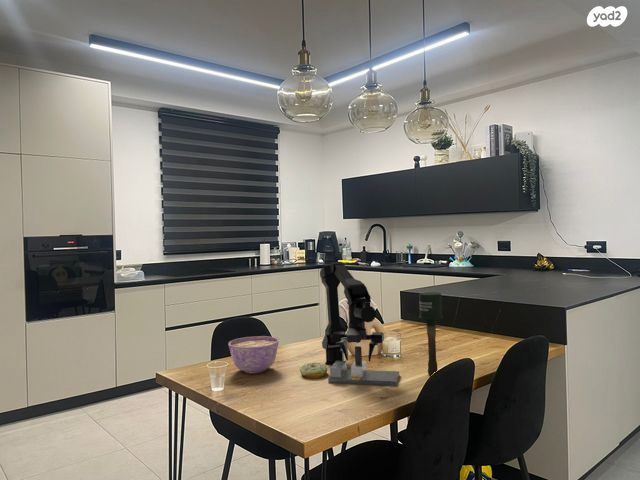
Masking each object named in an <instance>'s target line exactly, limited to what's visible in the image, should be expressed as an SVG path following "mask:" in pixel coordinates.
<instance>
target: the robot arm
mask: <svg viewBox="0 0 640 480" xmlns="http://www.w3.org/2000/svg"><path fill="white" fill-rule="evenodd" d="M319 278H320V280H321V284H322V285H323V286H324V287H325V291H326V292H325V293H326V305H327V317H328V318H327V319H328V323H327V325H326V328H325V329H324V336H323V339H322V341H321V347H322V349H324V350H325V362H324V364H325V365H333V364H334V363H335V362H336V361H347V362H348V361H349V351H348V350H349V349H348V343H350V344H351V343H356V344H359V343H361V341H363V340H364V341H370V342H369V343H368V347H369V348H368V362H371V360H372V357H373V354H374V353H373V352H374V349H375V347H376V346H378V345H379V344H383V342H384V340H385V335H384V332H381V331H378V332H377V331H376V332H375V331H372V333H371V334H367V333H368V331H367V329H366V323H370V322H373V321H374V320H375V318H376V316H377V311H376V309H375V308H374V307H373V306H372V305H371V303H372V300H371V298H372V297H371V295H370V293H369V290H368V288H367V286H366V285H365V283H363V282H362V281H361V280H358V279H355V277H354V276H353V275H352V274H351V273H350V271H349V270H348V268H347V267H346V264H345V263H344V262H343V261H342V262H341V261H340V262H338V261H337V262H332V263H331V264H329V265H326V266H323V267H322V268H321V269H320V271H319ZM340 283H341V285H342V286H343V288H344V291H343V294H344V296H345V298H346V300H347V302H346V304H347V305H348V327H347V330H346V329H345V327H343V325H342V324H341V318H340V316H341V315H340V304H339V291H338V290H339V289H338V288H339V286H340ZM344 359H345V360H344Z"/></svg>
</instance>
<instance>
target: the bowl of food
mask: <svg viewBox="0 0 640 480" xmlns="http://www.w3.org/2000/svg"><path fill="white" fill-rule="evenodd" d="M279 341H280V340H279V339H278V338H277V337H275V336H269V335H268V336H266V335H260V336H259V335H258V336H257V335H256V336H245V337H240V338H235V339H232V340H230V341H228V349H229V352H230V356H231V359H232V362H233V365H234V366H235V367H236V368H237V369H239V370H240V371H243V372H245V374H246V373H247V374H259V373H263V372H265V371H266V370H268V369H269V368H271V366H273V364H274V363H275V361H276V358H277V353H278V348H279Z"/></svg>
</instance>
